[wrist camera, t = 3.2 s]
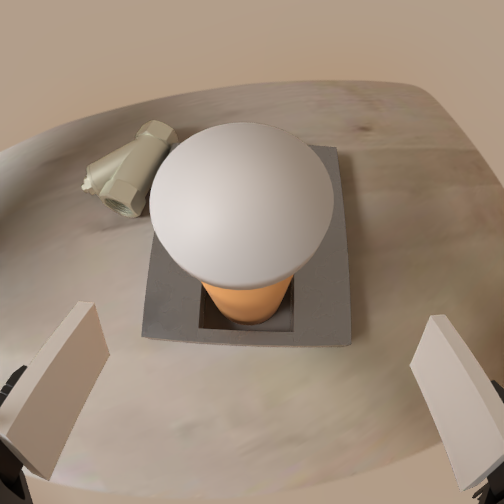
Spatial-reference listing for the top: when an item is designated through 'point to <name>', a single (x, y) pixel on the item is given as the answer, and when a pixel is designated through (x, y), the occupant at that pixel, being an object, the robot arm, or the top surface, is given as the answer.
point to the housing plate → (302, 292)
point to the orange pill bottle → (242, 213)
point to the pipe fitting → (130, 169)
